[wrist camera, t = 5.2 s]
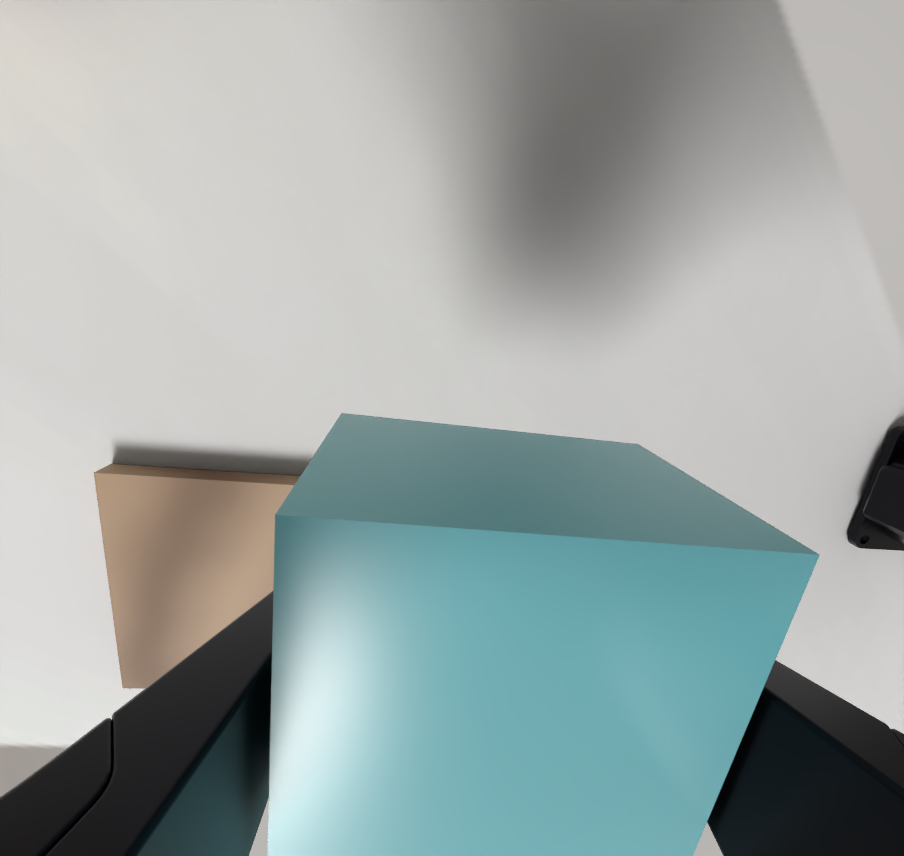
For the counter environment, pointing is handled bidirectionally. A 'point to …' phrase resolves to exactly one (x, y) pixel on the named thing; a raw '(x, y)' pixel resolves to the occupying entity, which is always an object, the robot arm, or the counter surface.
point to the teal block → (512, 645)
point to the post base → (183, 557)
